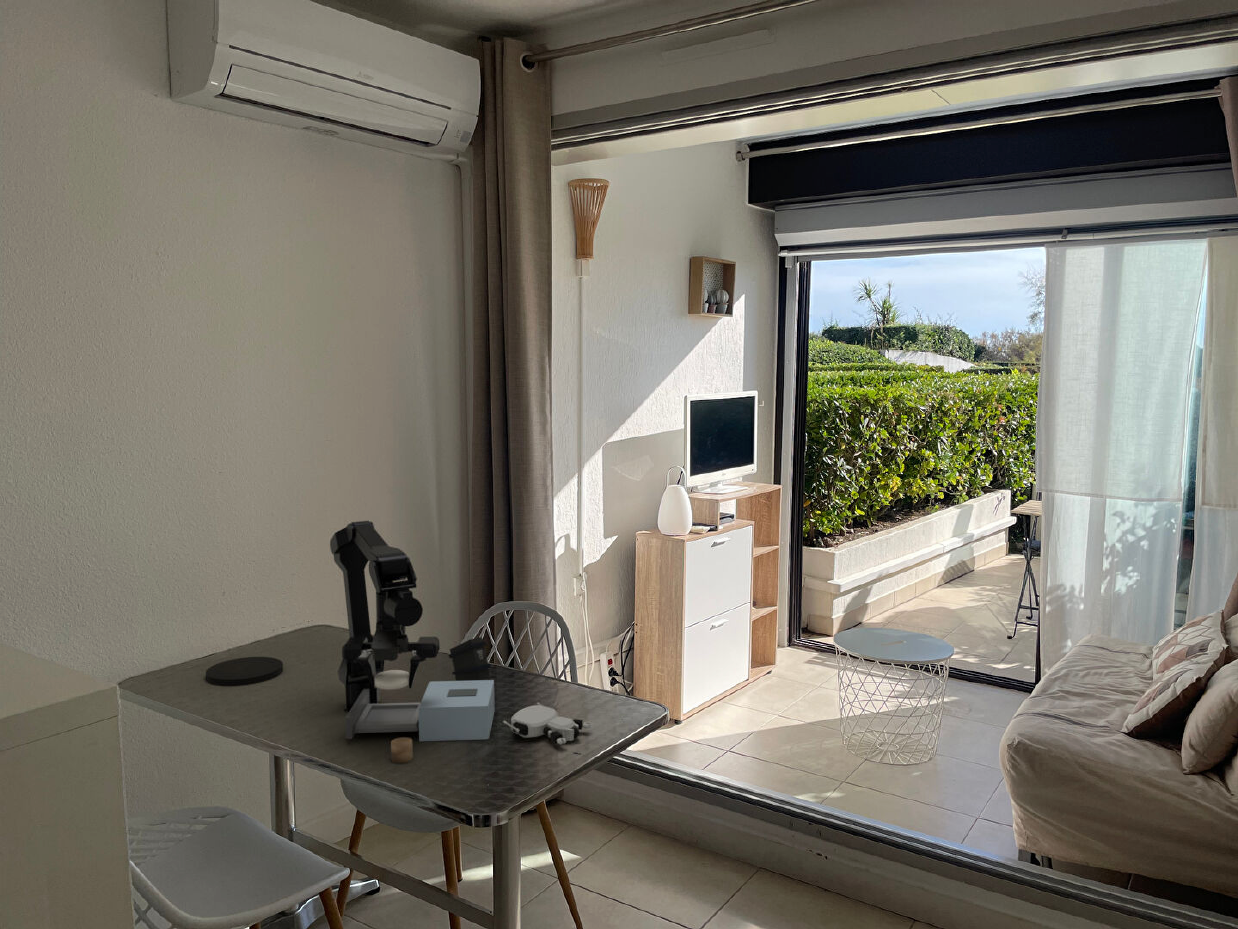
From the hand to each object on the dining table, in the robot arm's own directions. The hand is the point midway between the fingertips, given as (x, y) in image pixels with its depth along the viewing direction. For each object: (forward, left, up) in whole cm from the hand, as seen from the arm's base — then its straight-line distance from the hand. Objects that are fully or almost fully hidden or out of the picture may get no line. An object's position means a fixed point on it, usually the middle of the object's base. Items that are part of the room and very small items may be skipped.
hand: (392, 688), depth 190 cm
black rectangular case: (+14, +21, -11) cm, 27 cm away
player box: (+13, +5, -10) cm, 17 cm away
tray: (-2, +5, -9) cm, 10 cm away
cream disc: (0, 0, +1) cm, 1 cm away
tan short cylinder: (+4, -12, -10) cm, 16 cm away
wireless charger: (-44, +43, -11) cm, 63 cm away
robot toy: (+32, -2, -11) cm, 33 cm away
